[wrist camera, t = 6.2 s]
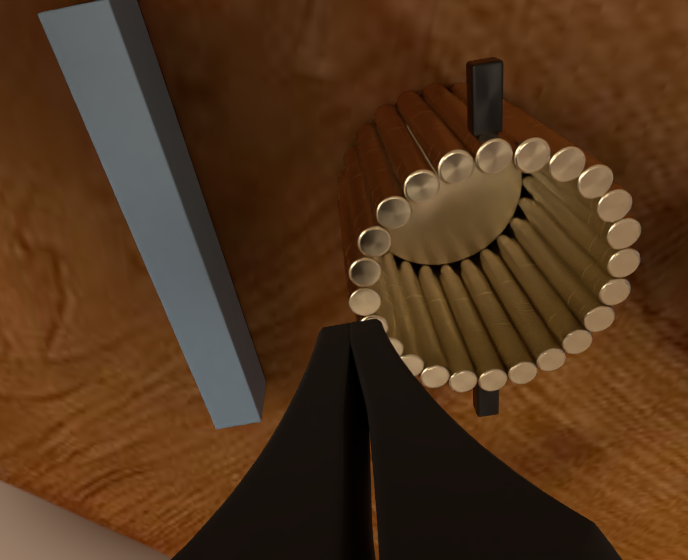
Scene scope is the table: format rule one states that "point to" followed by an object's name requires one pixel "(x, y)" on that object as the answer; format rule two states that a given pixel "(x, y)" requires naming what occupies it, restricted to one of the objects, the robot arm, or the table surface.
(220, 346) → the rectangular block
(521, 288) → the pot
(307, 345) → the table surface
